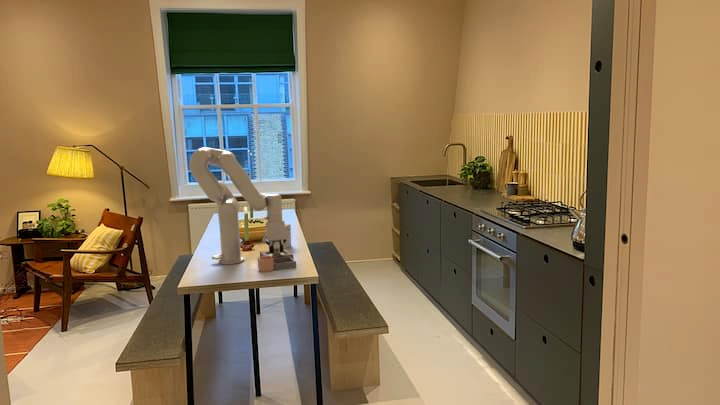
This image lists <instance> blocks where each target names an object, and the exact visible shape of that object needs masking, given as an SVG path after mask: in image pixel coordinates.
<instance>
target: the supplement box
mask: <svg viewBox="0 0 720 405" xmlns="http://www.w3.org/2000/svg"><path fill="white" fill-rule="evenodd" d="M285 228H286V234H287V235H288V236H289V239H288V240H287V241H286V242H285V243H284V245H283V249H288V248H289V247H292V232H291V230H292V228H291V223H285Z"/></svg>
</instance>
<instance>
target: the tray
mask: <svg viewBox="0 0 720 405" xmlns="http://www.w3.org/2000/svg"><path fill="white" fill-rule="evenodd" d="M273 261H274V270H273V271H279V270H287V269H294V268H295V269H296V268H297V261H296V260H295V258H294V259H292V258H291V257H290V256H289V257H281V258H273Z"/></svg>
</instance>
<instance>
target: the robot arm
mask: <svg viewBox="0 0 720 405" xmlns="http://www.w3.org/2000/svg"><path fill="white" fill-rule="evenodd" d="M236 158H237V157H236V155H235V154H234V153H233V152H232V151H228V150H223V149H217V148H212V147H204V146H203V147H200V148H198V149H196V150H194V152H193V153H192V154H191V157H190V159H189V165H188V167H189V171H190V173H191V176H192V177H193V179H194V180H195V181H196V183H197V184H198V186H199V187H200V188H201V190H202V191H203V192H204V194H205V195H206V197H207V198H208V199H209V200H211V201H212V202H215V204H216V205H217V207H218V209H217V216H218V224H219V236H220V239H219V240H220V252H219V254H217V255H216V254H215V255H212V256H211V258H212V260H215V261H217V260H218V263H219V264H221V265H236V264H239V263H243V262H244V261H245V257H244V256H241V255H242V254H241V252H242V251H241V238H240V224H239V223H240V222H239V209H240V203H239V201H238V200H237V198H236V197H235V196H234V195H233V193H232V192H231V190H230V189H229V188H228V186H227V185H226V183H224V182H223V181H220V180H219V179H217V177H216V176H215V175H214V174H213V172H212V171H211V170H210V169H209V167H208V165H209V166H215V167H220V169H221V170H222V171H223V173H225V175H226V176H227V178H228V179H229V180H230V181H231V182H232V184H233V185H234V187H235V189H237V191H238V192H239V193H240V195H241V196H242V197H243V199H244V200H245V202H246V203H247V204H248V205H249V207H250V208H251V209H253V211H257V212H259V211H263V210H265V208H266V216H263V217H264V220H266V222H265V227H264V228H265V229H264V230H265V231H264V232H265V233H264V234H265V235H264V236H263V237H262V239H261V241H262V242H263V243H265V244H267V246H268V251H269V252H270V253H271V254H273V246H272V241H277V240H280V248H281V253H283V249H284V248H283V245H284V243H285V242H286V241H287V240H288V239H289V236H288V235H287V234H286V228H285V224H286V223H285V220H284V219H283V208H282V207H283V205H282V203H283V202H282V195H281V194H279V193H261V192H259V191H258V189H257V188H256V187H255V185H254V184H253V183H252V179H251V178H250V175H249V174H248V173H247V171H246V170H245V169H244V167H242V165H241V164H240V163H239V161H238V160H237V159H236Z"/></svg>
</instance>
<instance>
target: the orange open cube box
mask: <svg viewBox="0 0 720 405" xmlns="http://www.w3.org/2000/svg"><path fill="white" fill-rule="evenodd" d="M257 268H258V271H259V272H261V273H268V272H272V271H275V270H274V261H273V258H272V257H271V256H263V257H260V256H258V257H257Z"/></svg>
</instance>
